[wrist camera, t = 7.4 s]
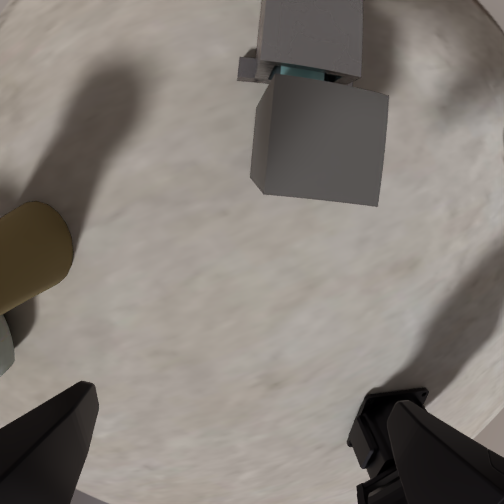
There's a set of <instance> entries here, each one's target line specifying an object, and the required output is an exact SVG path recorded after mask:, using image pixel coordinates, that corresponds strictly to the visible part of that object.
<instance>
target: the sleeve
mask: <svg viewBox="0 0 504 504" xmlns="http://www.w3.org/2000/svg"><path fill="white" fill-rule="evenodd" d="M362 38H363V0H262V2H261V11H260V20H259V30H258V40H257V49H256V58H247V57H240V59H239V68H238V78H237V81H246V82H257V83H266V84H270V82H271V80H272V78H273V76H274V75H275V74H280V73H281V66H284V67H291V68H298V69H304V70H310V71H316V72H321V73H325V74H324V81H327V82H332V83H337V84H342V85H347V86H353V81H355V80H357V79H359V78H361V69H362Z"/></svg>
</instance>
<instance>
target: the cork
mask: <svg viewBox="0 0 504 504" xmlns="http://www.w3.org/2000/svg"><path fill="white" fill-rule="evenodd" d="M72 258H73V245H72V238H71V235H70V232H69V230H68V227H67V225H66V223H65V222H64V220H63V219H62V217H61V216H60V215H59V213H58V212H57V211H55V210H54V209H53V208H52V207H50V206H49V205H47V204H44V203H41V202H38V201H34V202H26V203H25V204H23V205H21V206H19V207H18V208H16V209H14V210H13V211H11V212H9V213H8V214H6V215H5V216H3V217H1V218H0V315H2V314H4V313H6V312H7V311H9V310H11V309H13V308H14V307H16V306H18V305H20V304H22V303H23V302H25V301H27V300H29V299H31V298H32V297H34V296H36V295H38V294H40V293H42V292H43V291H45V290H47V289H49V288H51V287H53V286H55V285H56V284H58V283H60V282H61V281H62V280H63V279H64V278H65V277H66V276H67V274H68V272H69V269H70V267H71V265H72Z"/></svg>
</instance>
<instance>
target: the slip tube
mask: <svg viewBox="0 0 504 504" xmlns="http://www.w3.org/2000/svg"><path fill="white" fill-rule="evenodd" d="M324 74H325V73H321V72H316V71H310V70H304V69H298V68H291V67H284V66H281V73H280V74H275V75H274V76H273V78H272V80H271V82H270V84H269V85H268V87H267V89H266V91H265V93H264V94H263V96H262V98H261V100H260V102H259V104H258V106H257V107H256V117H255V128H254V139H253V149H252V160H251V172H250V178H251V179H252V180H253V182H254V183H255V184H256V185H257V187H258V188H259V189H260V190H261V192H262V193H263V194H265V195H276V196H287V197H297V198H307V199H317V200H326V201H335V202H343V203H351V204H359V205H367V206H375V207H378V201H379V194H380V186H381V178H382V170H383V161H384V152H385V142H386V131H387V118H388V102H389V95H385V94H381V93H377V92H373V91H369V90H365V89H361V88H356V87H352V86H347V85H342V84H337V83H332V82H327V81H324Z"/></svg>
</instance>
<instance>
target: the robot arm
mask: <svg viewBox="0 0 504 504" xmlns="http://www.w3.org/2000/svg"><path fill="white" fill-rule="evenodd" d="M428 393H429V391H428V390H427V388H418V389H411V390H404V391H396V392H388V393H379V394H370V395H368V396H366V397H365V398H364V401H363V403H362V406H361V408H360V411H359V413H358V416H357V417H356V419H355V421H354V424H353V426H352V428H351V431H350V433H349V438H348V440H347V445H348V446H349V447H353V449H354V452H355V454H356V457H357V459H358V462H359V465H360V467H361V468H362V469H367V472H368V474H369V477H370V480H368V481H366V482H365V483H361V484H359V485H357V499H358V504H504V457H502V456H500V455H498V454H496V453H495V452H493V451H491V450H489V449H487V448H486V447H484V446H483V445H481V444H479V443H478V442H476V441H474V440H473V439H471V438H469V437H468V436H466V435H464V434H463V433H461V432H459V431H458V430H456V429H454V428H453V427H451V426H449V425H448V424H446V423H445V422H443V421H441V420H440V419H438V418H436V417H435V416H433V415H432V414H430V413H428V412H427V410H426V409H425V407H424V406H423V404H424V402H425V400H426V397H427V395H428ZM98 411H99V402H98V398H97V393H96V388H95V385H94V384H93V383H90V382H86V381H80V382H78V383H76V384H74V385H73V386H71V387H70V388H68V389H66V390H65V391H63V392H61V393H60V394H58V395H56V396H55V397H53V398H51V399H50V400H48V401H46V402H45V403H43V404H41V405H40V406H38V407H36V408H35V409H33V410H31V411H29V412H28V413H26V414H24V415H23V416H21V417H19V418H18V419H16V420H14V421H13V422H11V423H9V424H7V425H6V426H4V427H2V428H1V429H0V504H70V502H71V499H72V497H73V494H74V491H75V488H76V485H77V482H78V479H79V476H80V474H81V471H82V468H83V465H84V463H85V460H86V457H87V454H88V451H89V447H90V443H91V439H92V434H93V430H94V426H95V422H96V418H97V415H98Z"/></svg>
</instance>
